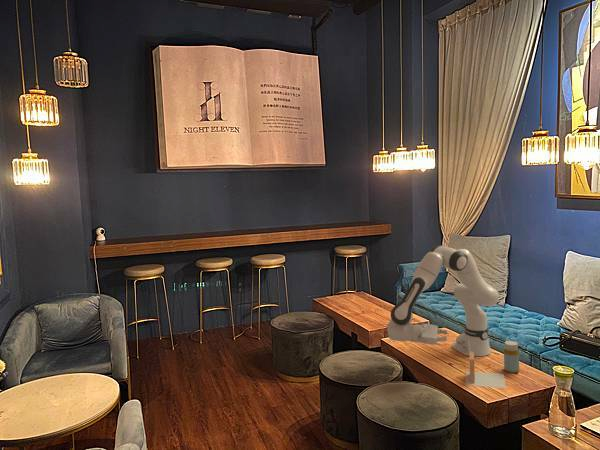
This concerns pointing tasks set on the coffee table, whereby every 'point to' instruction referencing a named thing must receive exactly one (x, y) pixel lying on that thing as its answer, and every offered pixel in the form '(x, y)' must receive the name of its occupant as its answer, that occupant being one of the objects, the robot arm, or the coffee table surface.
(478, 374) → the mat
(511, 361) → the bottle
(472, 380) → the tile
